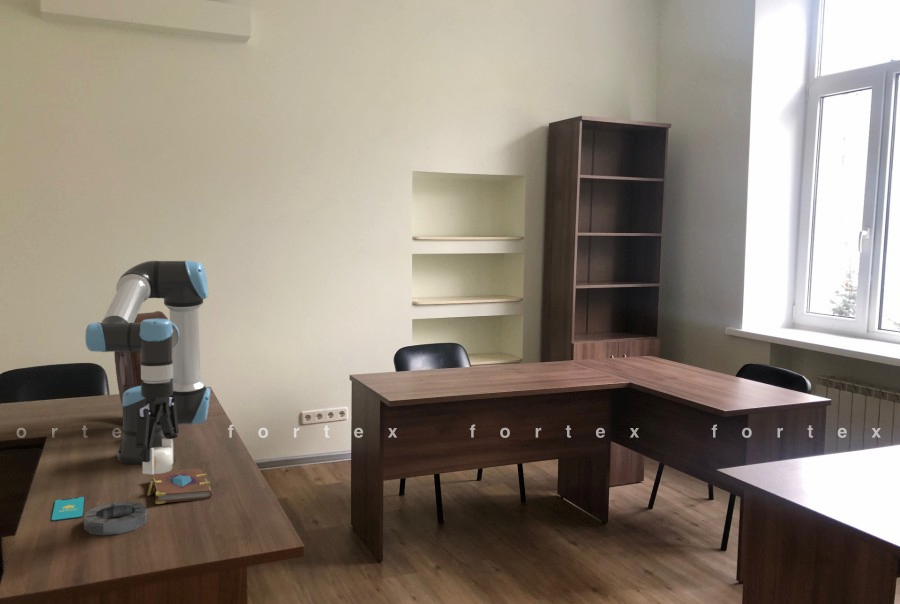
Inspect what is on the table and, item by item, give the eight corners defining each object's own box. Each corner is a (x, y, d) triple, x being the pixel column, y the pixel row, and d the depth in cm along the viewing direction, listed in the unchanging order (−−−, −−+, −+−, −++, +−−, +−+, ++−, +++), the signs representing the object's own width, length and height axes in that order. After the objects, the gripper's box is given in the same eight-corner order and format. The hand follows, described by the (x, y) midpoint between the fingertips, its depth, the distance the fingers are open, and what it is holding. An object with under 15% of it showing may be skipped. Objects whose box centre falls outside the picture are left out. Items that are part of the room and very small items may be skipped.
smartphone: (50, 520, 182) (54, 499, 195) (50, 523, 182) (54, 502, 195) (83, 516, 185) (85, 496, 198) (83, 519, 185) (85, 499, 198)
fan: (186, 437, 258) (185, 316, 254) (132, 444, 248) (130, 318, 244) (161, 412, 292) (159, 305, 288) (112, 418, 282) (110, 307, 278)
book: (200, 475, 222) (201, 459, 222) (212, 503, 200) (213, 485, 200) (143, 479, 215) (144, 463, 215) (149, 508, 193) (150, 490, 193)
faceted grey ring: (110, 510, 190) (110, 499, 189) (157, 516, 187) (157, 504, 187) (71, 531, 176) (71, 519, 176) (122, 537, 173) (122, 525, 173)
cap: (155, 463, 189) (155, 445, 188) (178, 466, 188) (178, 447, 187) (137, 473, 181) (137, 453, 181) (161, 475, 180) (161, 456, 180)
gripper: (166, 372, 193) (167, 455, 195) (117, 387, 173) (119, 480, 175) (192, 373, 192) (193, 457, 194) (146, 389, 172) (147, 482, 174)
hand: (158, 468), depth 184 cm, fingers closed on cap, 8 cm apart
